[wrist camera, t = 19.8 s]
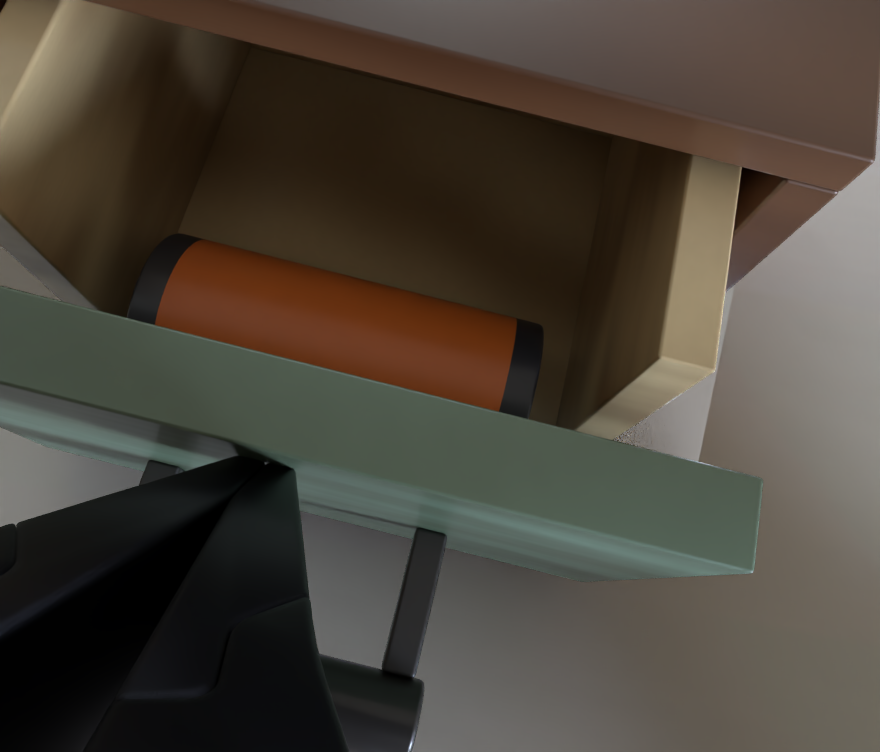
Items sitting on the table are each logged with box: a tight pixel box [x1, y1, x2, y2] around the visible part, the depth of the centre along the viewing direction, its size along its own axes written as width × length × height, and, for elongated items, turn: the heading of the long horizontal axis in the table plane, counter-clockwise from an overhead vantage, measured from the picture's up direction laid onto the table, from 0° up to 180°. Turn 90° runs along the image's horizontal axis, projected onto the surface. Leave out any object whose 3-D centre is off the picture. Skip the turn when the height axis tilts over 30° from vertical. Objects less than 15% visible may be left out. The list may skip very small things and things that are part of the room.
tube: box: [127, 233, 544, 419], centre depth 14 cm, size 7×3×3 cm
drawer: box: [0, 0, 763, 752], centre depth 13 cm, size 15×12×8 cm
